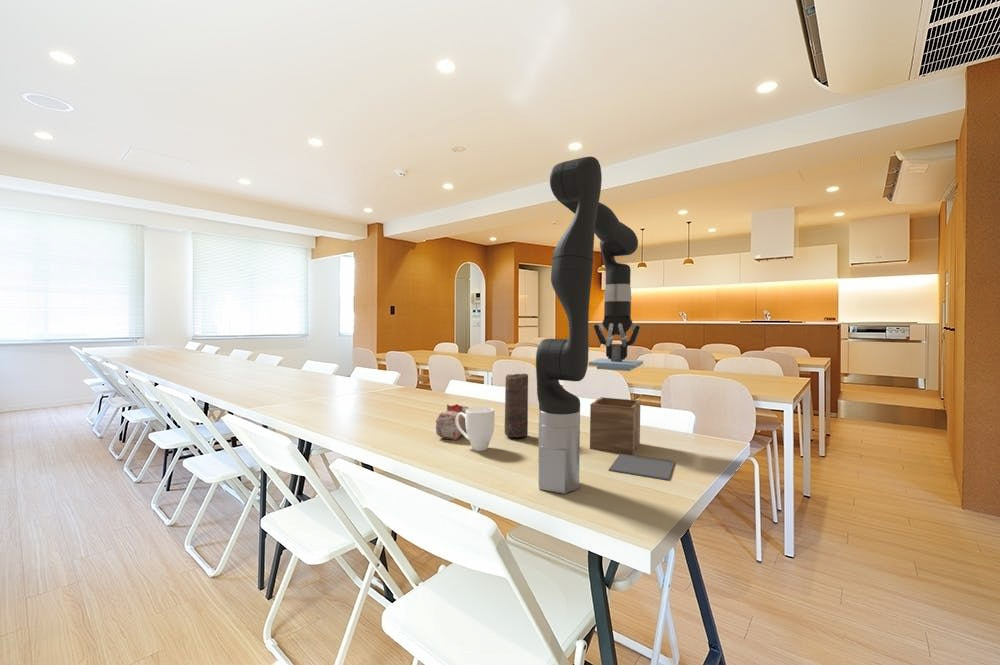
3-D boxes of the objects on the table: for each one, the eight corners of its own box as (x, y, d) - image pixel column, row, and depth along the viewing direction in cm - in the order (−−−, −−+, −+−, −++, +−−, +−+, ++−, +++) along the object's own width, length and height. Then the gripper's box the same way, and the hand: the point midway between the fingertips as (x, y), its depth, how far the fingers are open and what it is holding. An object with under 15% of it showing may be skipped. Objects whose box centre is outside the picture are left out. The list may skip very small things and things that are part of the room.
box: (632, 454, 121) (633, 408, 121) (589, 448, 127) (590, 404, 126) (639, 443, 132) (640, 400, 131) (600, 438, 137) (600, 397, 137)
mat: (668, 480, 102) (668, 478, 102) (608, 470, 109) (608, 469, 109) (674, 462, 115) (674, 461, 115) (620, 454, 121) (620, 453, 121)
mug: (498, 446, 128) (498, 408, 128) (487, 454, 121) (487, 413, 120) (462, 441, 133) (462, 404, 133) (449, 449, 125) (448, 410, 125)
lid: (635, 372, 120) (635, 346, 119) (588, 369, 126) (589, 344, 125) (642, 367, 131) (643, 343, 131) (599, 365, 137) (600, 342, 137)
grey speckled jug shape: (458, 442, 133) (458, 409, 133) (434, 439, 135) (433, 408, 135) (473, 430, 146) (473, 401, 146) (450, 428, 148) (450, 400, 148)
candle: (528, 440, 135) (528, 375, 134) (504, 440, 135) (504, 375, 134) (527, 433, 142) (527, 372, 141) (504, 433, 142) (504, 372, 141)
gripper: (590, 300, 127) (589, 359, 128) (640, 299, 121) (639, 361, 122) (596, 301, 134) (596, 357, 135) (644, 300, 128) (643, 359, 128)
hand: (616, 358), depth 128 cm, fingers closed on lid, 3 cm apart
